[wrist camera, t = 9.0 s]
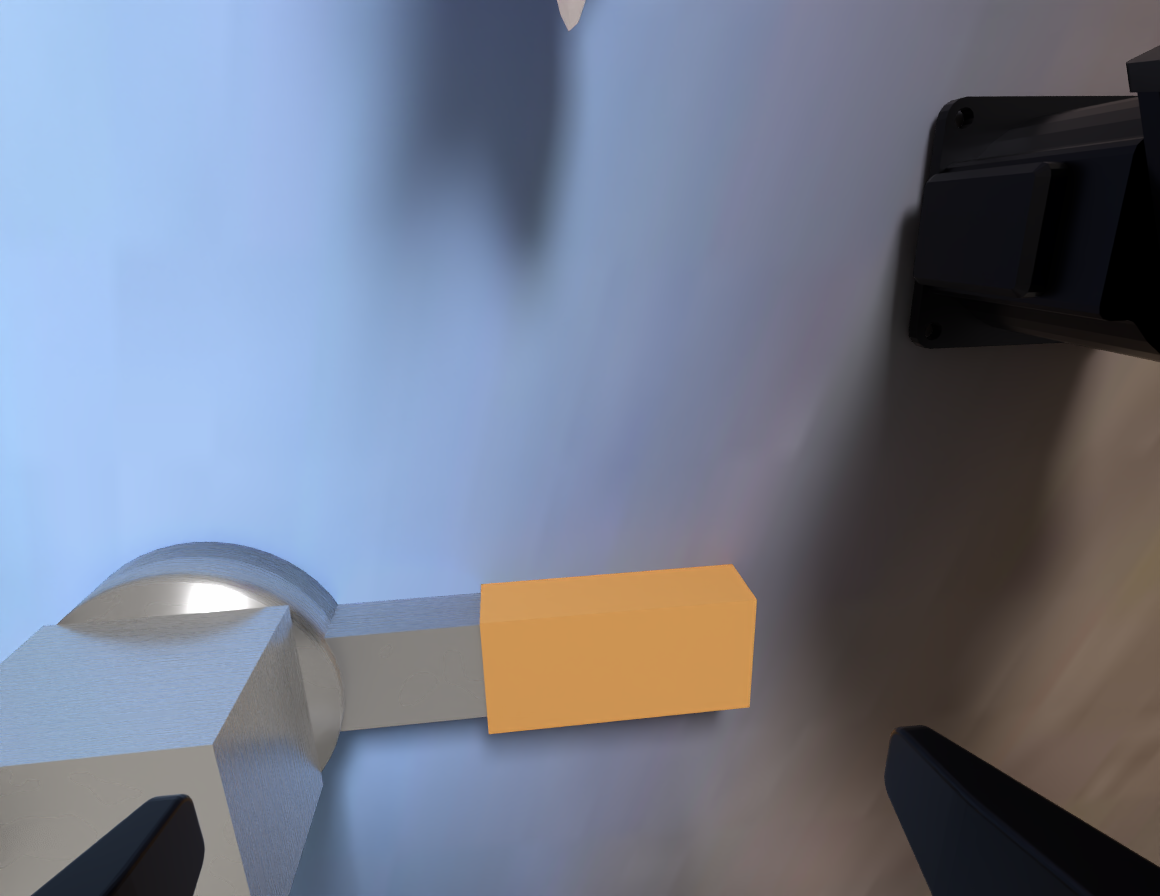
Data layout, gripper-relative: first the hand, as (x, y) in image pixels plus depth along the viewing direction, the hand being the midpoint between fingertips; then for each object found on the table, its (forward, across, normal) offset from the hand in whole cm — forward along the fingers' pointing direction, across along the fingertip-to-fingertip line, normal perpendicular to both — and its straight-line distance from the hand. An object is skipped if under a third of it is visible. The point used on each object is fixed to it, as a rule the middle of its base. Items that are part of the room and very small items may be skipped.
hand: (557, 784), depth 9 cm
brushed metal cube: (+9, +10, +6) cm, 14 cm away
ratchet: (+12, +4, +6) cm, 14 cm away
